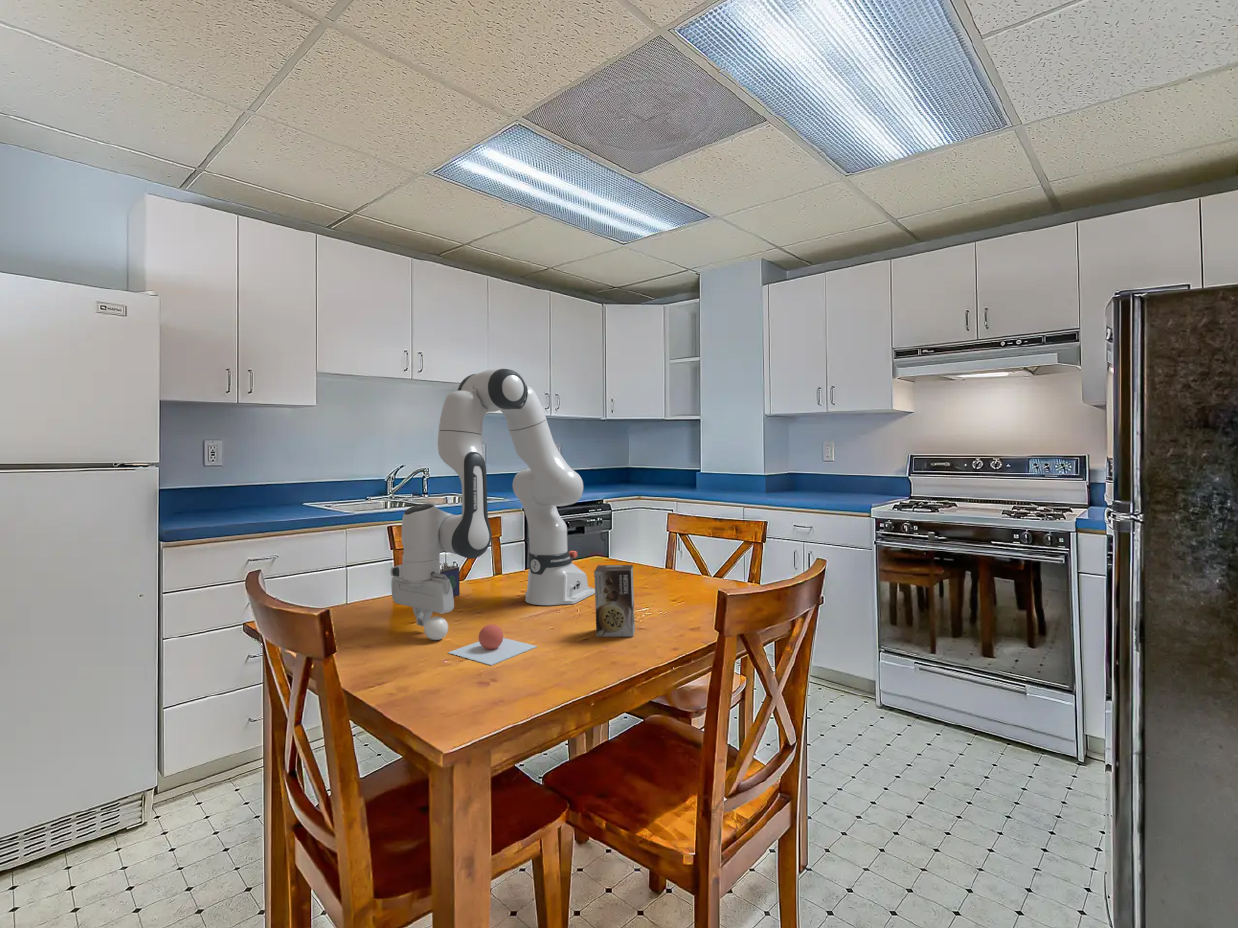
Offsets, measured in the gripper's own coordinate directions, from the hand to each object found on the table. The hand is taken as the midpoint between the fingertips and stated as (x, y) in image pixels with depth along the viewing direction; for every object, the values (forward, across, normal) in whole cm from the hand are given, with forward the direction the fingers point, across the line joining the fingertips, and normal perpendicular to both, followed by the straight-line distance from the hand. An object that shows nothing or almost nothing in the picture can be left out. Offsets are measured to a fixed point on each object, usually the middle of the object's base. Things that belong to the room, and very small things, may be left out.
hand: (423, 625), depth 157 cm
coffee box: (+2, -41, -25) cm, 48 cm away
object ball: (-1, -24, 0) cm, 24 cm away
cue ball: (-1, -8, +2) cm, 8 cm away
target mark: (+2, -25, 0) cm, 25 cm away
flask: (+2, +22, -25) cm, 33 cm away
